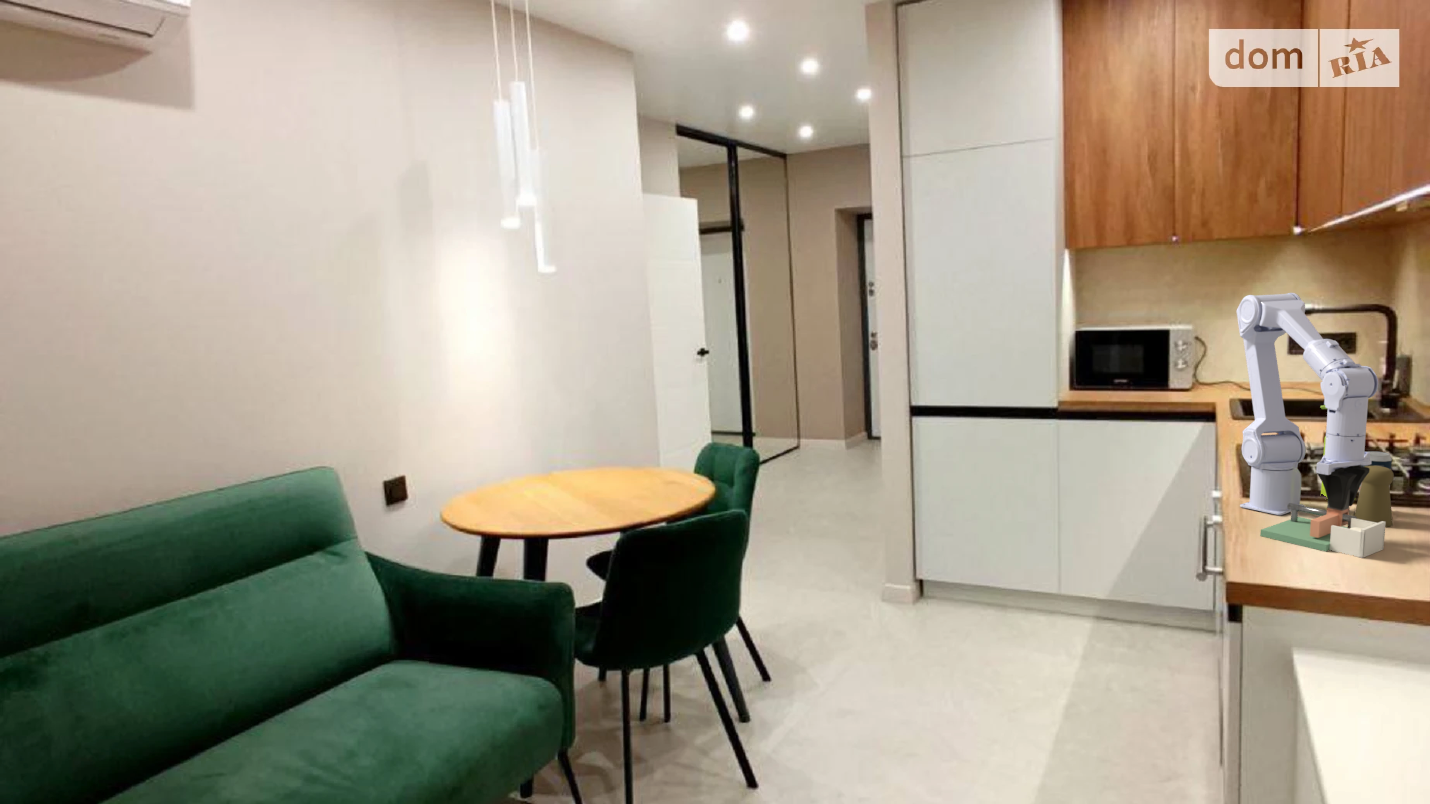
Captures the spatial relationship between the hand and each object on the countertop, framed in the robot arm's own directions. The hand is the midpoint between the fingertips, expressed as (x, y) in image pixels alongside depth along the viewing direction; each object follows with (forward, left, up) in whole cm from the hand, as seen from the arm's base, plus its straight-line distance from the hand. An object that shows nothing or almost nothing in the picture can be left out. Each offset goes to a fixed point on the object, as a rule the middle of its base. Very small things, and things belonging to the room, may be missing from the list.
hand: (1340, 506), depth 152 cm
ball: (+5, +5, -4) cm, 8 cm away
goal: (+5, +5, -6) cm, 9 cm away
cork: (-14, -1, -6) cm, 15 cm away
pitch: (+3, -3, -6) cm, 7 cm away
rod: (0, -3, -5) cm, 6 cm away
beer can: (-21, -4, -6) cm, 22 cm away
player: (+3, 0, -4) cm, 5 cm away
